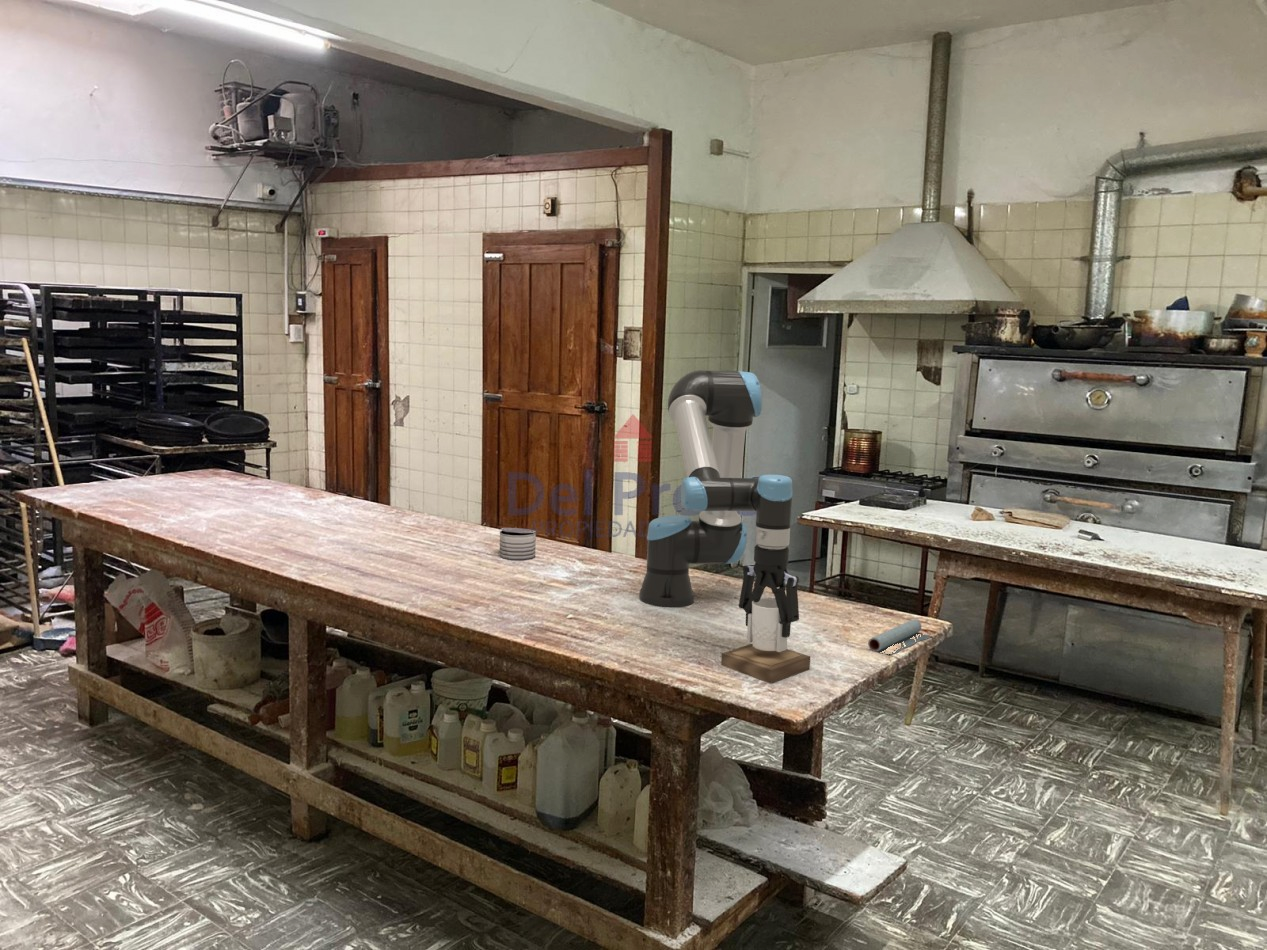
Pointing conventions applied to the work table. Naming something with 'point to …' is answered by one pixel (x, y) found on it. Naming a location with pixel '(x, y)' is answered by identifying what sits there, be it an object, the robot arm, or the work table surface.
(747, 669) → the base
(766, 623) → the white cup
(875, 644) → the aluminum foil
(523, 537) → the can
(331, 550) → the work table surface
